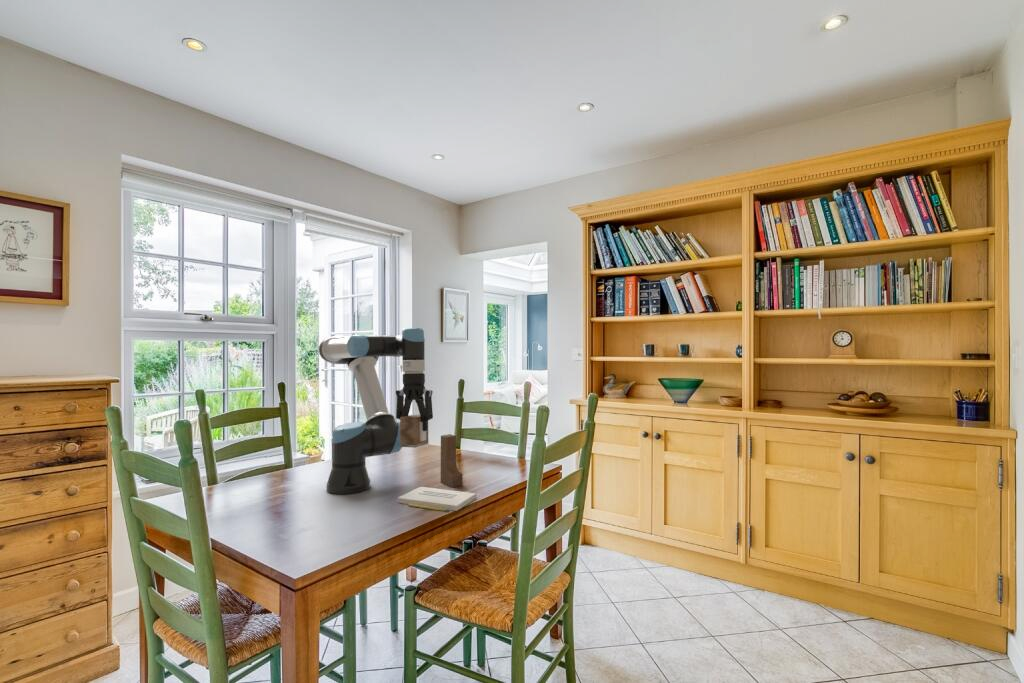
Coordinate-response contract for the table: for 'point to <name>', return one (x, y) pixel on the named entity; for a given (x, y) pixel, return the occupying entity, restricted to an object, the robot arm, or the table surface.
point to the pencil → (429, 507)
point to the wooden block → (449, 462)
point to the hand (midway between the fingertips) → (414, 439)
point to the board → (437, 498)
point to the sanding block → (411, 431)
